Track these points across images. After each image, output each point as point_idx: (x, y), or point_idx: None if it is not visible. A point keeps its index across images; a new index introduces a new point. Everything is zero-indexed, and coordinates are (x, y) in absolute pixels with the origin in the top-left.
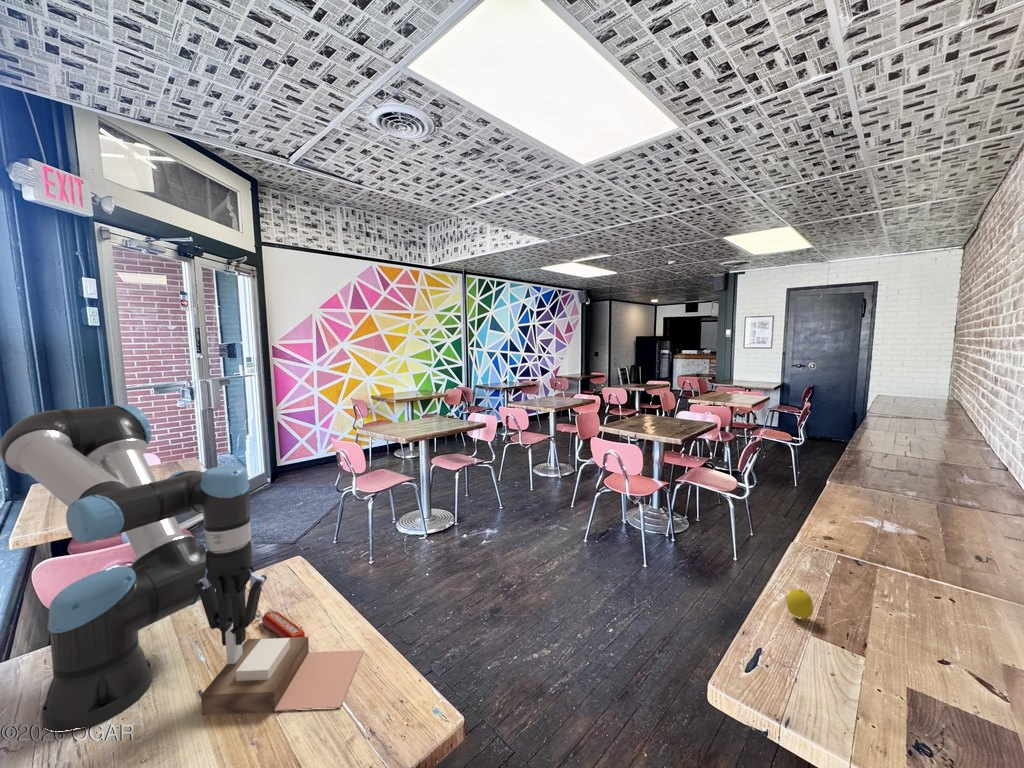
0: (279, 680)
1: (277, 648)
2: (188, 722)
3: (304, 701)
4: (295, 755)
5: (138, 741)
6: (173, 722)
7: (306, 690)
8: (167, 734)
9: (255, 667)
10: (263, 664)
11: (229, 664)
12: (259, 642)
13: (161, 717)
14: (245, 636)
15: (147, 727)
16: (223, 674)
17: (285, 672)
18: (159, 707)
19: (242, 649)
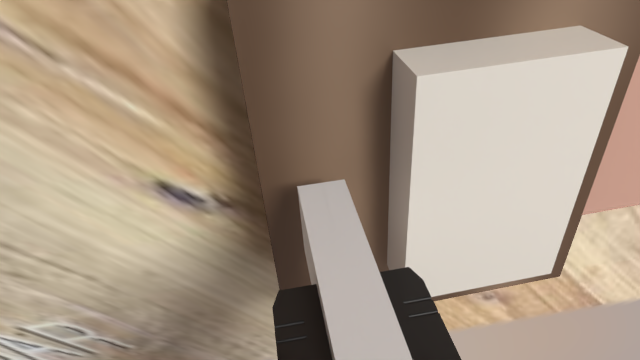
0: (569, 236)
1: (561, 148)
2: (253, 287)
3: (608, 187)
4: (595, 300)
5: (157, 347)
6: (201, 295)
7: (610, 146)
8: (224, 321)
9: (486, 271)
10: (518, 252)
11: (282, 195)
12: (423, 112)
13: (135, 290)
14: (426, 291)
15: (130, 318)
16: (301, 248)
17: (584, 197)
18: (75, 266)
19: (350, 195)
